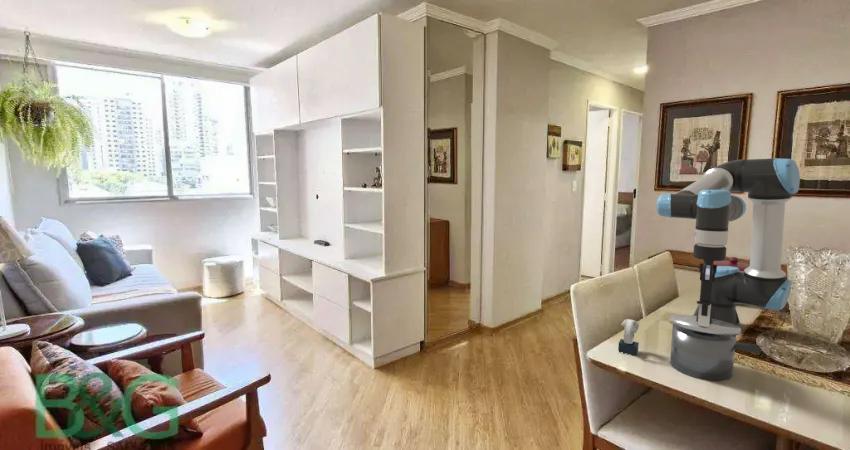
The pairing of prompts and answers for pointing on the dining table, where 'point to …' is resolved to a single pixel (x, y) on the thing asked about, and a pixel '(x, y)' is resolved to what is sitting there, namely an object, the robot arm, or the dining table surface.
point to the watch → (629, 338)
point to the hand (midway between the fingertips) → (703, 325)
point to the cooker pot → (705, 353)
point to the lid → (714, 326)
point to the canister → (733, 265)
